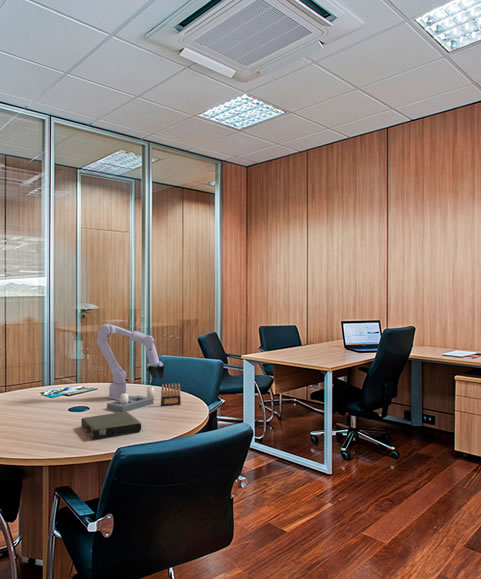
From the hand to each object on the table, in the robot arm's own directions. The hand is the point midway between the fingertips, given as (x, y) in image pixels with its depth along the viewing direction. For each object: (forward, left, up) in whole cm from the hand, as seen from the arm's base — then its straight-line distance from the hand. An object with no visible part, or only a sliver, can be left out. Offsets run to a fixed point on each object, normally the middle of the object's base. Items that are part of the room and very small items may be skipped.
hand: (158, 378), depth 255 cm
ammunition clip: (+18, -9, -12) cm, 23 cm away
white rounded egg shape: (0, -6, -11) cm, 13 cm away
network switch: (+25, -56, -12) cm, 62 cm away
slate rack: (+2, -23, -11) cm, 26 cm away
